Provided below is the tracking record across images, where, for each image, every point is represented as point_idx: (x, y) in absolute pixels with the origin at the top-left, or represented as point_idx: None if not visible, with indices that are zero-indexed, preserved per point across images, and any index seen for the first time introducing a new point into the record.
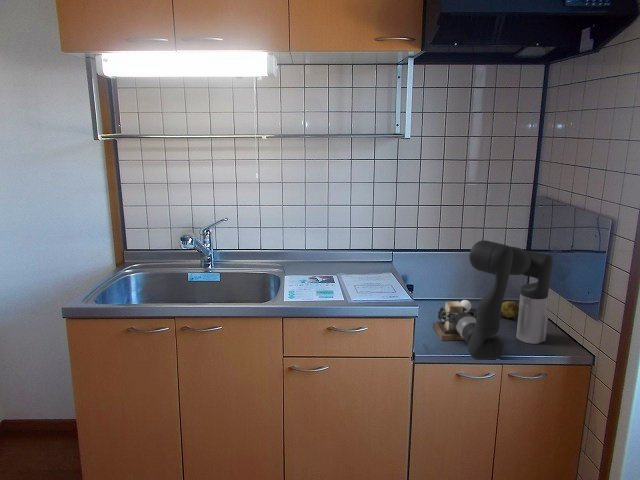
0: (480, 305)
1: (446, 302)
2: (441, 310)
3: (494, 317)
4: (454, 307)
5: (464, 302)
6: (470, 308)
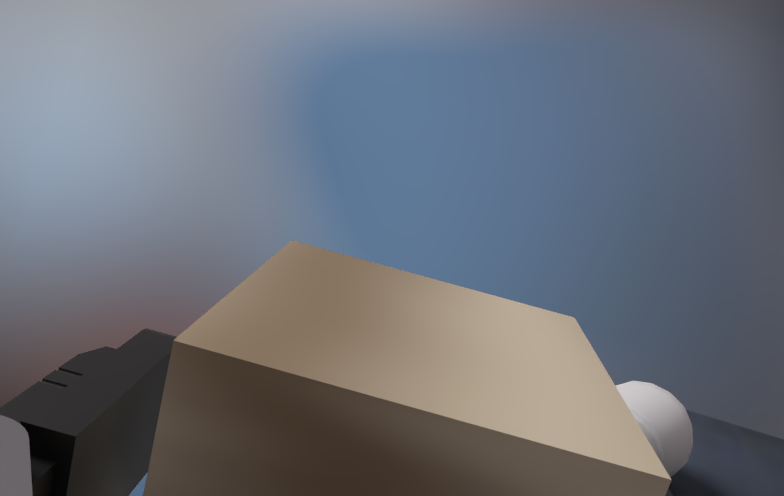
0: None
1: (284, 250)
2: (35, 395)
3: None
4: (340, 428)
5: (641, 401)
6: (678, 469)
